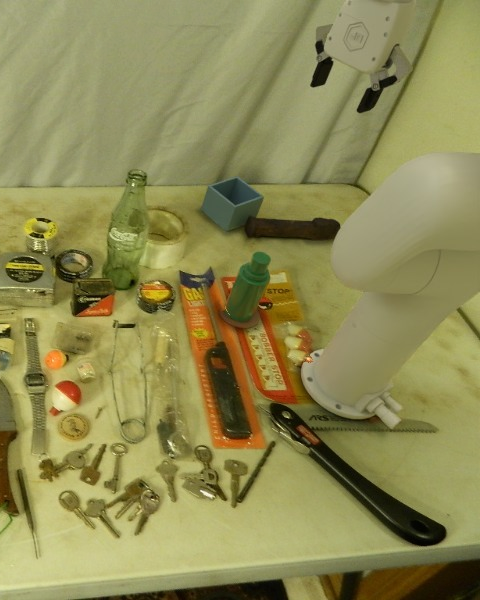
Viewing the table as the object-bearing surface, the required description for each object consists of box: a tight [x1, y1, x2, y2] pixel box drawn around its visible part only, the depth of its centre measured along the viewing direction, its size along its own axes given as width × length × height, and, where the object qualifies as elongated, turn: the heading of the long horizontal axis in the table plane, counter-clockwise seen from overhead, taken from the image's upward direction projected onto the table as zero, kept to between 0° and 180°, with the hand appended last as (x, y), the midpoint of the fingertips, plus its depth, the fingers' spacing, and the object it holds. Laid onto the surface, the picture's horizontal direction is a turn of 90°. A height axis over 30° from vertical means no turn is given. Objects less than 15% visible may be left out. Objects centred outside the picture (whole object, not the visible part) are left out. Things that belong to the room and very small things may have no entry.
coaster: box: [218, 308, 261, 330], centre depth 91 cm, size 7×7×1 cm
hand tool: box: [244, 215, 341, 241], centre depth 105 cm, size 19×4×5 cm, turn 87°
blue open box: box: [200, 175, 265, 233], centre depth 108 cm, size 8×8×6 cm
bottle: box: [223, 251, 272, 322], centre depth 87 cm, size 5×5×12 cm
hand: (339, 98), depth 88 cm, fingers open, 9 cm apart
